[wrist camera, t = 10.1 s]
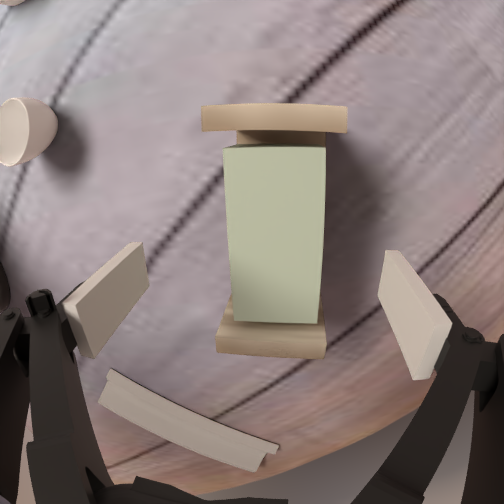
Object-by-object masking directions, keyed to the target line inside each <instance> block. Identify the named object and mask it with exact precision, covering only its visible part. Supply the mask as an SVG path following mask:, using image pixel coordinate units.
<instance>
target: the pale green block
mask: <svg viewBox="0 0 504 504" xmlns="http://www.w3.org/2000/svg"><path fill="white" fill-rule="evenodd" d="M223 163H224V182H225V200H226V217H227V233H228V248H229V262H230V277H231V290H232V303H233V316H234V321H251V322H275V323H317V318H318V308H319V296H320V284H321V270H322V255H323V237H324V215H325V179H326V148H325V147H323V146H322V145H320V144H301V143H267V144H237V145H233V146H230V147H226V148H223Z"/></svg>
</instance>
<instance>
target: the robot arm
mask: <svg viewBox="0 0 504 504" xmlns="http://www.w3.org/2000/svg"><path fill="white" fill-rule="evenodd" d="M148 287H149V280H148V274H147V268H146V262H145V256H144V249H143V243H142V242H130V243H129V244H128V245H127V246H126V247H124V248H123V249H122V250H121V251H120V252H118V253H117V254H116V255H115V256H114V257H113V258H111V259H110V260H109V261H108V262H107V263H106V264H104V265H103V266H102V267H101V268H100V269H99V270H97V271H96V272H95V273H94V274H93V275H92V276H91V277H90V278H88V279H87V280H86V281H84V282H82V283H81V284H79V285H78V286H77V287H75V288H74V289H73V291H71V292H70V293H69V295H67V296H66V297H65V298H63V299H62V300H61V301H60V302H59V303H58V304H57V305H55V302H54V299H53V296H52V293H51V291H50V290H48V289H41V290H37V291H35V292H33V293H31V294H29V295H28V296H27V297H26V300H25V301H26V304H27V307H28V309H29V312H30V315H31V317H24V318H23V316H22V314H21V311H20V309H18V308H11V309H10V308H9V309H7V310H5V309H6V308H7V307H8V305H9V302H10V291H9V286H8V282H7V278H6V275H5V273H4V270H3V268H2V266H1V263H0V313H1V312H2V311H3V310H5V311H4V312H3V313H1V314H0V504H16V499H17V495H18V486H19V473H20V461H21V453H22V445H23V438H24V431H25V425H26V419H27V414H28V408H29V403H30V405H31V418H32V428H33V437H34V441H33V442H28V443H27V447H26V449H27V450H26V451H27V458H28V465H29V471H30V477H31V482H32V487H33V492H34V496H35V501H36V504H288V499H263V498H250V497H247V498H238V499H228V500H213V501H207V500H203V499H201V498H198V497H196V496H193V495H191V494H189V493H187V492H184V491H182V490H180V489H178V488H176V487H173V486H171V485H169V484H164V483H160V482H156V481H152V480H149V479H145V478H141V477H138V476H136V478H135V480H134V483H133V484H118V485H114V483H113V482H112V480H111V478H110V476H109V474H108V472H107V469H106V466H105V464H104V461H103V458H102V455H101V452H100V450H99V447H98V444H97V440H96V437H95V434H94V431H93V428H92V424H91V421H90V417H89V414H88V410H87V406H86V402H85V398H84V394H83V390H82V386H81V381H80V377H79V372H78V367H77V362H76V357H75V354H74V352H73V350H74V348H75V347H76V346H78V349H79V351H80V354H81V356H85V357H89V358H93V359H95V358H96V356H97V355H98V353H99V352H100V351H101V349H102V348H103V347H104V345H105V344H106V342H107V341H108V340H109V338H110V337H111V336H112V334H113V333H114V332H115V330H116V329H117V328H118V326H119V325H120V324H121V322H122V321H123V320H124V318H125V317H126V316H127V314H128V313H129V312H130V311H131V309H132V308H133V307H134V305H135V304H136V303H137V301H138V300H139V299H140V298H141V296H142V295H143V294H144V293H145V291H146V290H147V289H148ZM377 296H378V298H379V300H380V302H381V305H382V307H383V309H384V311H385V313H386V316H387V318H388V320H389V323H390V325H391V327H392V329H393V332H394V334H395V336H396V339H397V341H398V344H399V346H400V348H401V351H402V353H403V356H404V358H405V361H406V363H407V366H408V369H409V371H410V374H411V376H412V379H413V380H422V379H429V378H430V376H431V374H432V372H433V369H434V368H435V370H436V372H437V376H436V378H435V380H434V382H433V384H432V386H431V387H430V389H429V391H428V393H427V395H426V397H425V399H424V400H423V402H422V404H421V406H420V407H419V409H418V411H417V413H416V414H415V416H414V418H413V419H412V421H411V423H410V425H409V426H408V428H407V429H406V431H405V432H404V434H403V435H402V437H401V439H400V440H399V442H398V443H397V444H396V446H395V448H394V449H393V450H392V452H391V453H390V455H389V456H388V457H387V459H386V460H385V462H384V463H383V465H382V466H381V467H380V468H379V470H378V471H377V472H376V473H375V475H374V476H373V477H372V479H371V480H370V481H369V482H368V483H367V485H366V486H365V487H364V489H363V490H362V491H361V492H360V493H359V495H358V496H357V497H356V498H355V499H354V500H353V502H352V503H351V504H422V503H423V500H424V496H423V494H424V492H425V490H426V488H427V486H428V485H429V483H430V481H431V479H432V478H433V476H434V474H435V472H436V470H437V468H438V466H439V464H440V462H441V461H442V458H443V457H444V455H445V452H446V450H447V448H448V446H449V444H450V442H451V440H452V437H453V435H454V433H455V431H456V428H457V426H458V423H459V421H460V419H461V416H462V413H463V411H464V408H465V406H466V403H467V400H468V397H469V394H470V392H471V390H475V399H474V419H473V432H472V442H471V451H470V458H469V464H468V471H467V476H466V482H465V487H464V492H463V496H462V501H461V504H504V334H502V335H501V336H500V338H499V341H498V343H493V342H486V341H485V339H484V337H483V335H482V334H481V333H480V332H479V331H477V330H475V329H473V328H469V327H465V326H464V325H463V324H462V322H461V321H460V319H459V318H458V317H457V315H456V314H455V312H454V311H453V310H452V308H451V307H450V306H449V304H448V303H447V301H446V300H445V299H444V298H442V297H441V296H439V295H438V294H432V293H431V292H430V291H429V289H428V288H427V287H426V285H425V284H424V282H423V281H422V280H421V278H420V277H419V276H418V275H417V273H416V272H415V271H414V269H413V268H412V267H411V265H410V264H409V263H408V262H407V260H406V259H405V258H404V257H403V255H402V254H401V253H400V252H399V250H386V251H385V257H384V263H383V269H382V274H381V280H380V285H379V290H378V295H377Z"/></svg>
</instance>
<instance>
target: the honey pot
mask: <svg viewBox="0 0 504 504" xmlns="http://www.w3.org/2000/svg"><path fill="white" fill-rule="evenodd" d="M23 1H25V0H0V4H2V5H7V6H16V5H19V4H20V3H22V2H23Z"/></svg>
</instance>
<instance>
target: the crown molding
mask: <svg viewBox="0 0 504 504" xmlns="http://www.w3.org/2000/svg"><path fill="white" fill-rule="evenodd" d="M106 379H108V380H107V383H106V386H105V388H104V390H103V392H102V394H101V396H100V399H99V401H98V403H99V404H100V405H102V406H104V407H105V408H107V409H109V410H110V411H112V412H114V413H116V414H117V415H119V416H121V417H123V418H125V419H126V420H128V421H130V422H132V423H134V424H136V425H138V426H140V427H142V428H143V429H145V430H147V431H149V432H151V433H154V434H156V435H158V436H160V437H162V438H164V439H166V440H168V441H171V442H173V443H175V444H177V445H180V446H182V447H184V448H187V449H189V450H191V451H194V452H196V453H199V454H201V455H204V456H206V457H209V458H212V459H214V460H217V461H220V462H223V463H226V464H228V465H231V466H234V467H237V468H241V469H244V470H247V471H250V472H253V473H254V472H256V470H257V469H258V467H259V465H260V463H261V461H262V459H263V458H264V456H265V455H266V454H267V453H271V454H274V455H275V453H276V451H277V449H278V447H279V445H277V444H274V443H271V442H268V441H265V440H262V439H259V438H256V437H254V436H251V435H248V434H245V433H243V432H240V431H237V430H235V429H232V428H230V427H227V426H225V425H222V424H220V423H217V422H215V421H213V420H210V419H208V418H206V417H203V416H201V415H199V414H197V413H194V412H192V411H190V410H188V409H186V408H184V407H181V406H179V405H177V404H175V403H173V402H171V401H169V400H167V399H165V398H163V397H161V396H159V395H157V394H155V393H153V392H152V391H150V390H148V389H146V388H144V387H142V386H140V385H139V384H137V383H135V382H133V381H132V380H130V379H128V378H126V377H125V376H123V375H121V374H119V373H118V372H116V371H114V370H113V369H111V368H110V370H109V372H108V374H107V376H106Z"/></svg>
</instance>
